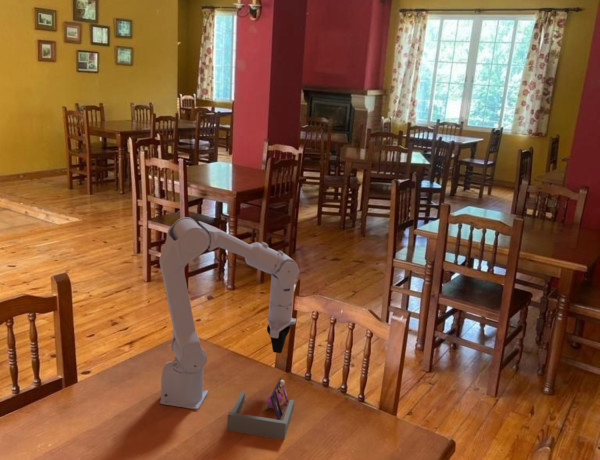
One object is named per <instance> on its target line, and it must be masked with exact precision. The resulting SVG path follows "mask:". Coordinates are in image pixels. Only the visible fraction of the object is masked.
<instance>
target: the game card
mask: <svg viewBox="0 0 600 460" xmlns="http://www.w3.org/2000/svg"><path fill="white" fill-rule="evenodd" d="M285 383H286V382H285V380H284V379H283V378H282V377H279V379H278V380H277V383H276V385H275V387H274V389H273V391H272V392H271V393H270V394H269V396H268V397H267V399H266V406H265V408H263V411H267V410H268V409H269V408H270V409H273V411H274V414H275V419H276V420H282V418H283V416H284V415H285V414H284V413H285V412H286V411H285V410H287V407H288V404H289V401H290V400H289V397H288V393H287V390H286V388H285ZM281 389H282V391H283V393H281V392H280V390H281ZM284 397H285V398H284ZM284 399H285V404H284V407H283V409H282V407H281V403H282V402H283V400H284Z"/></svg>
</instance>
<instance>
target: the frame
mask: <svg viewBox="0 0 600 460" xmlns="http://www.w3.org/2000/svg"><path fill="white" fill-rule="evenodd" d="M239 393H240V394H239V395H238V398H237V400H236V402H235V403H234V406H233V408H232V410H231V411H229V412H228V413H227V423H226V431H230V432H237V433H241V434H242V433H243V434H249V435H255V436H260V437H266V438H272V439H278V440H285V438H286V436H287V433H288V429H289V424H290V422H291V418H292V415H293V412H294V407H295V400H294V399H289V400H288V401H289V402H288V405H287V407H286V411H285V414H284V418H283V420H282V419H281V420H277V418H275V419H274V418H271V417H270V418H269V417H263V416H256V415H250V414H243V413H240V412H241V411H242V408H243V406H244V404H245V401H246V392H243V391H240V392H239Z"/></svg>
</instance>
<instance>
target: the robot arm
mask: <svg viewBox="0 0 600 460" xmlns="http://www.w3.org/2000/svg"><path fill="white" fill-rule="evenodd" d="M197 222H198V223H197ZM166 234H167V235H166V240H165V242H164V246H163V247H162V249H161V253H160V257H159V262H158V263H159V267H160V271H161V276H162V280H163V281H162V282H163V285H164V290H165V296H166V300H167V304H168V310H169V314H170V320H171V325H172V329H173V330H172V333H171V334H172V340H171V345H170V348H171V351H172V352H173V354H174V355H175V356H174V359H173V360H172V361H167V362H166V363H165V364H164V365H163V369H162V373H161V382H160V384H161V385H160V390H161V391H160V393H161V394H160V396H161V397H160V400H159V404H161V405H167V406H173V407H178V408H184V409H192V410H199V409H200V408H201V405H202V404H203V402H204V400H205V399H206V397H207V396H208V395H209V391H208V390H207V389H204V368H205V366H206V364H207V361H208V355H207V353H206V351H205V350H204V349H203V347H202V346H201V341H200V338H199V335H198V332H197V331H196V325H195V321H194V315H193V311H192V306H191V305H192V304H191V299H190V295H189V289H188V285H187V279H186V274H185V268H186V266H187V265H188V264H189V263H190V262H191V261H193V260H194V259H196V258H198V257H199V256H200V255H202V254H203V253H204V252H206V251H207V250H208V251H209V252H210V251H211V252H212V251H213V250H215V249H217V248H220V249H223V250H225V251H228V252H230V253H233V254H236V255H238V256H240V257H243V258H244V260H245V263H246V264H247V265H248V266H250V267H253V268H255V269H257V270H260V271H262V272H264V273H266V274H269V275H271V277H270V278H271V279H270V288H269V289H270V292H269V306H268V317H267V322H268V325H267V327H266V332H267V333H268V336H269V338H270V340H271V341H270V342H271V347H272V353H277V354H282V352H283V349H284V347H285V342H286V339H287V337H288V334H289V333H290V331H291V328H292V327H293V326H292V325H295V324H296V323H297V319H296V318H293V316H292V315H293V314H292V313H293V304H294V303H293V302H294V287H295V280H297V278H298V277H299V275H300V272H301V271H300V269H299V265H298V263H297V261H295V260H294V259H293V258H291V257H290V256H289V255H287V254H286V253H284V252H283V251H282V250H280V249H279V250H275V249H272V248H270V247H269V244H268V243H266V242H264V241H261V243H260V242H259V241H258V242H257V241H255V242H253V243H250V244H249V243H247V242H246V241H244V240H242V239H239V238H238V237H236V236H233V235H232V234H230V233H228V232H226V231H223V230H222V229H219V228H218V227H216V226H213V225H210V224H208V223H206V222H203V221H200V220H198V221H197V220H196V219H193V218H192V217H188V216H183V217H181V218H178V219H177V220H176V221H174V223H173V224H172V225H171V226H170V227H169V229H167V233H166Z"/></svg>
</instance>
